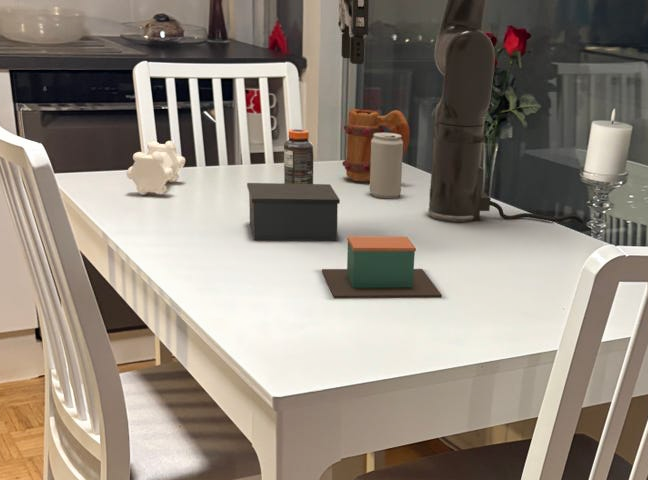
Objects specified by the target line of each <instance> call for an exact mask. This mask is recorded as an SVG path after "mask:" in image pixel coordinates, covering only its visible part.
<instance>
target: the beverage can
mask: <svg viewBox="0 0 648 480" xmlns="http://www.w3.org/2000/svg"><path fill="white" fill-rule="evenodd" d="M373 136H374V137H373V139H372V140H371V167H370V182H369V192H370V193H371V194H372V195H373V196H374V197H376V198H380V199H395V198H398V196H400V195H401V194H402V179H403V178H402V176H403V157H404V155H403V141H402V139H401V137H402V136H401V135H399V134H394V133H393V132H384V133H375V134H373ZM402 156H403V157H402Z"/></svg>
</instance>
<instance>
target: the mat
mask: <svg viewBox="0 0 648 480" xmlns="http://www.w3.org/2000/svg"><path fill="white" fill-rule="evenodd" d="M321 273H322V275H323V277H324V279H325V282H326V284H327V286H328V288H329V289H328V290H329V291H330V294H331V295H332V297H333V299H396V298H397V299H400V298H401V299H406V298H407V299H411V298H417V299H418V298H442V297H443V295H442V293H441V292H440V291H439V289H438V288H437V287H436V285H435V284H434V283H433V281H432V279H430V277H429V276H428V274H427V273H426V272H425V270H424V269H423V268H414V273H413V287H406V288H353V286H352V284H351V282H350V281H349V279H348V277H347V268H322V269H321Z"/></svg>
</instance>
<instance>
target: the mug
mask: <svg viewBox="0 0 648 480" xmlns="http://www.w3.org/2000/svg"><path fill="white" fill-rule="evenodd" d="M383 127H385V128H386V129H387V130H389V131H390V133H394V134H399V135H401V136H402V137H401V139H402V141H403V156H402V158H403V157H404V156H405V154H406V153H407V150H408V148H409V147H408V146H409V143H410V136H411V133H410V126H409V124H408V121H407V119H406V116H404V114H403V112H402V111H400V110H396V109H395V110H392V111H390V112H389V113H387V114H385V115H380V113H379V112H378V110H377V111H376V110H371V109H363V110H361V109H359V108H352V109H349V110H348V120H347V123H346V124H345V125H343V130H344V131H345V133H346V136H347V138H346V158H345V159H344V160H343V161H342V166H343V167H344V169H345V171H346V175H345V176H346V177H347V178H348V179H350V180H351V181H354V182H357V183H358V182H359V183H367V182H369V183H370V167H371V140H372V139H373V137H374V136H373V134H375V133H385V130H384V128H383Z"/></svg>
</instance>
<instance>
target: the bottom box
mask: <svg viewBox="0 0 648 480" xmlns="http://www.w3.org/2000/svg"><path fill="white" fill-rule="evenodd" d="M246 187H247V191H248V196H249V197H248V200H249V201H248V203H249V206H248V207H249V224H250V229H251V232H252V237H253V240H254V241H337V240H338V208H339V207H338V206H339V205H338V204H340V203H341V202H340V201H341V199H340V198H339V196H338V194H337V192H336V191H335V190H334V189H333V187H332V185H331V184H329V183H328V184H325V183H313V184H284V183H280V182H279V183H275V182H274V183H273V182H272V183H271V182H247V183H246Z"/></svg>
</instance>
